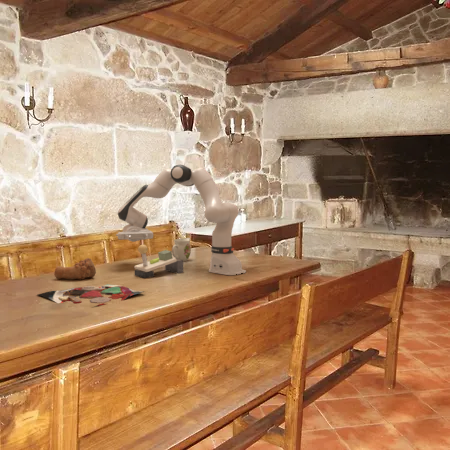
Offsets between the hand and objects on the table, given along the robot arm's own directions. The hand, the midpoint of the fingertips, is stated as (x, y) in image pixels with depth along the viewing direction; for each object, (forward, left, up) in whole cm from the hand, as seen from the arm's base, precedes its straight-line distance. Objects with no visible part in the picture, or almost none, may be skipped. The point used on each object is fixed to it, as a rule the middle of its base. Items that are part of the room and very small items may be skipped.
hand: (137, 237), depth 263 cm
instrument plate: (-12, -4, -15) cm, 19 cm away
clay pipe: (+6, +33, -20) cm, 40 cm away
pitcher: (+12, -40, -20) cm, 46 cm away
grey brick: (-12, -6, -20) cm, 24 cm away
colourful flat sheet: (-31, +43, -21) cm, 57 cm away
